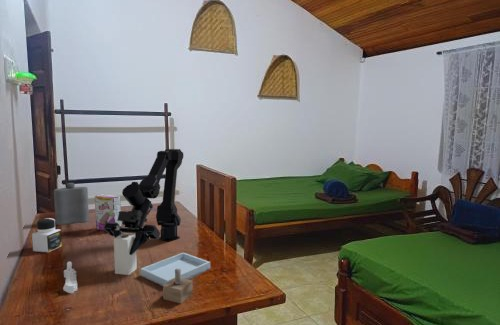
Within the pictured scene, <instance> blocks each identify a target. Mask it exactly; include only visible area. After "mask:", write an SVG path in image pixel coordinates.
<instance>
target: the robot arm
mask: <svg viewBox="0 0 500 325" xmlns="http://www.w3.org/2000/svg"><path fill="white" fill-rule="evenodd" d="M183 159H184V152H183V151H182V150H181V148H166V149H165V150H159V151H157V153H156V158H155V160H154V162H153V164H152V166H151V168H150V171H149V173H147V176H146V177H144V178H143V179H141V181H140V182H138V181H131V183H130V184H128V185H126V186H125V187H124V188H123V189H122V191H121V192H122V196H123V198H125V200H126V201H127V202H128V203H129V205H130V206H132V209H131V210H128V211H126V210H125V211H123V210H121V211H119V215H118V221H121V222H122V225H123V226H122V227H121V226H120V225H119V224H118V223H114V222H108V223H106V224H105V226H104V228H103V229H104V230H105V232H106V233H107V234H108V235H109V236H111V237H114V238H116V237H118V236H119V235H121V234H134V235H135V240H134V242H133V245H132V247H131V250H130V253H129V254H130V255H132V254H133V253H134V252H135V251H136V252H137V250H139V248H140V247H142V246H143V245H144V244H145V243H146V242H150V240H159V239H160V240H162V241H164V242H169V243H170V242H172V241H174V240H178V239H180V235H179V236H178V226H181V221H182V220H181V219H182V218H181V216H180V215H179V214H178V208H177V206H176V204H175V199H176V198H175V197H176V196H175V195H176V186H177V177H178V169H179V168H180V167H181V165H182V164H183ZM164 172H165V176H164V183H163V184H164V185H163V193H162V194H163V195H162V202H161V203H160V204H158V205H157V207H156V209H157V210H156V214H155V218H156V223H157V226H160V230H159V228H157V226H156V225H155V224H145V223H147V222H148V219H147V217H148V213H149V210H150V209H153V208H154V207H153V204H152V201H151V200H150V199H157V197H159V194H160V190H161V186H160V182H161V179H162V177H163V174H164Z"/></svg>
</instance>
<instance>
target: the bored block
mask: <svg viewBox="0 0 500 325" xmlns="http://www.w3.org/2000/svg"><path fill="white" fill-rule="evenodd" d="M134 240H135V234H132V233H124V234H121V235H119V236H118V237H116V238H115V237H114V238H113V250H114V251H113V252H114V253H113V256H114V257H113V258H114V274H115V275H125V276H130V275H131V274H132V273H133V272H134V271H136V270H137V269H138V268H137V267H138V266H137V262H138V261H137V250H136V251H135V252H134V253H133V254H132V255H130V254H129V253H130V250H131V247H132V245H133V242H134Z"/></svg>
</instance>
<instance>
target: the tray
mask: <svg viewBox="0 0 500 325" xmlns="http://www.w3.org/2000/svg"><path fill="white" fill-rule="evenodd" d="M175 269H181V278H183V279H187V280H191V279H192V278H194V277H196V276H199V275H201V274H203V273H205V272H207V271H210V270H211V261H208V260H206V259H204V258H200V257H197V256H195V255H192V254H189V253H186V252H181V253H178V254H176V255H173V256H171V257H167V258H165V259H162V260H159V261H157V262H154V263H152V264H149V265H147V266H143V267H142V268H140V276H141V277H143V278H145V279H147V280H148V281H151V282H153V283H155V284H157V285H159V286H161V287H163V285H165V284H166V283H168V282H169V281H171V280H172V279H174V278H175Z"/></svg>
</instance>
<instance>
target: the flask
mask: <svg viewBox="0 0 500 325" xmlns="http://www.w3.org/2000/svg"><path fill="white" fill-rule="evenodd" d="M88 190H89V188H88V187H87V186H76V184H75V183H74V182H68V183H66V187H62V188H60V187H59V188H55V189H54V190H53V198H54V199H53V200H54V202H53V204H54V215H55V216H54V220H55V226H64V225H72V224H79V223H87V222H89V221H90V211H89V209H90V208H89V192H88Z"/></svg>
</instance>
